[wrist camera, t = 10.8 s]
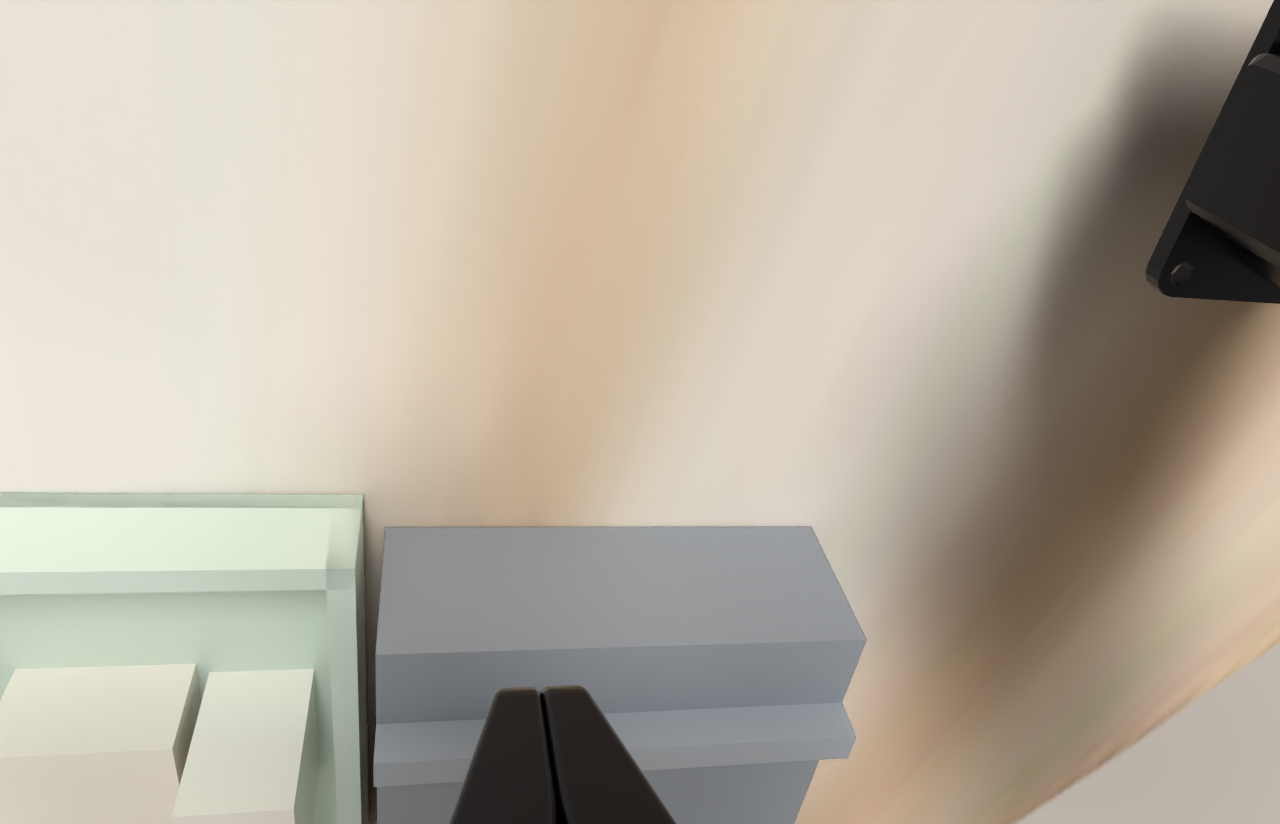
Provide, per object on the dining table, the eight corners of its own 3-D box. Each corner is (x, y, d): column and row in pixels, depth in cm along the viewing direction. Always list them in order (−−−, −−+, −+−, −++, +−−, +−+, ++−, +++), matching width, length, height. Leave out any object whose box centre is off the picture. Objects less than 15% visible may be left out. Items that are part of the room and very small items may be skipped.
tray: (362, 494, 22) (354, 568, 20) (369, 843, 29) (364, 922, 27) (-188, 490, 19) (-263, 575, 17) (-27, 872, 27) (-66, 962, 25)
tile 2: (293, 808, 21) (171, 817, 20) (301, 906, 23) (191, 916, 22) (313, 668, 24) (209, 672, 23) (319, 766, 26) (224, 771, 26)
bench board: (811, 526, 25) (883, 673, 21) (724, 799, 31) (766, 951, 27) (385, 527, 22) (372, 693, 18) (385, 823, 29) (376, 994, 25)
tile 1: (-28, 759, 20) (15, 669, 22) (12, 864, 22) (48, 773, 24) (172, 749, 21) (195, 663, 23) (192, 850, 23) (212, 764, 25)
